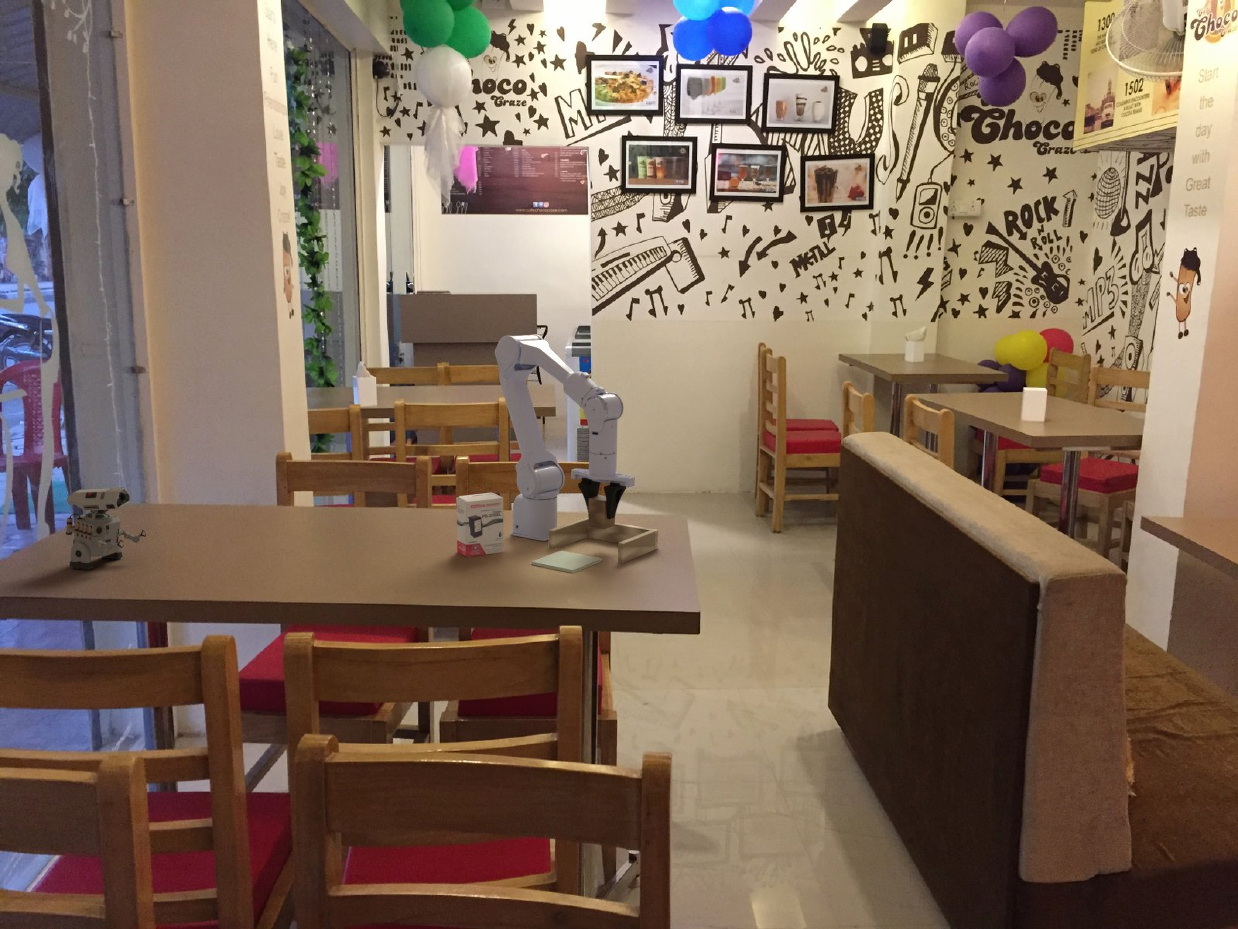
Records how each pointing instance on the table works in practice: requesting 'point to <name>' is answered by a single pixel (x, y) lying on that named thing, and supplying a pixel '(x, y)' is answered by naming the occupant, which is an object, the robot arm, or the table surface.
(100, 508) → the figurine
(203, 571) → the table surface
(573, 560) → the pad
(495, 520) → the ink box
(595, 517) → the walnut block
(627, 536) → the corral
